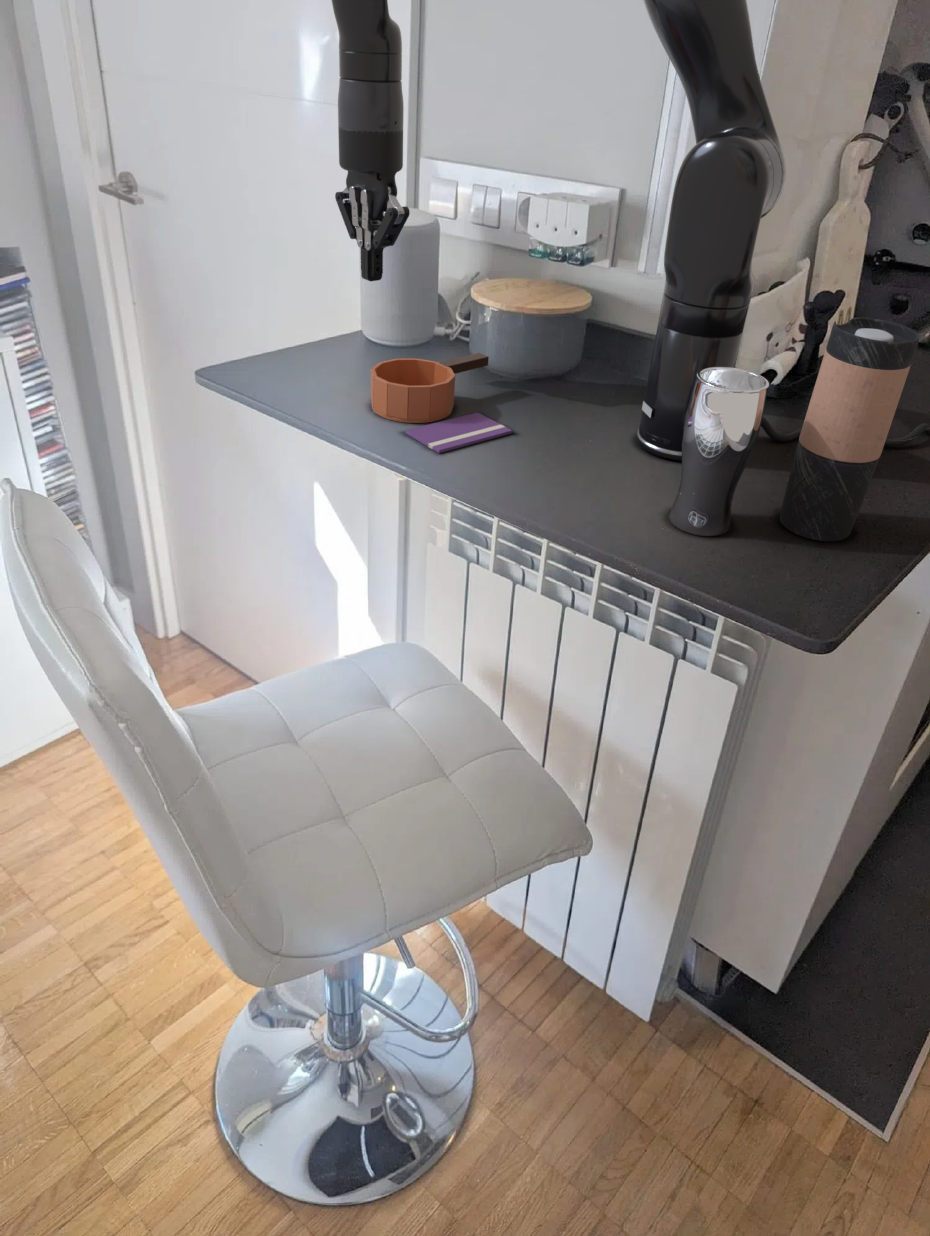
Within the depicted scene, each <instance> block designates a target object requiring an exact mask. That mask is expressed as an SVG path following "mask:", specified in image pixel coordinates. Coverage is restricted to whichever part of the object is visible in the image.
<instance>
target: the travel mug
mask: <svg viewBox="0 0 930 1236" xmlns="http://www.w3.org/2000/svg"><path fill="white" fill-rule="evenodd" d="M919 342H920V334H919V333H918V332H917V331H915V330H914V329H912V328H910V327H907V326H905V325H902V324H899V323H896V322H892V321H888V320H885V319H884V320H883V319H879V318H871V317H853V318H850V319H849V320H848V321H847V322H845V323H842V324H837V322H836V321H833V324H832V327H831V330H830V334H829V337H828V341H827V344H826V347H825V350H824V354H823V356H822V357H823V358H822V361H821V364H820V367H819V370H818V373H817V378H816V381H815V384H814V387H813V390H812V393H811V396H810V397H811V398H810V400H809V404H808V407H807V411H806V413H805V418H804V421H803V423H802V427H801V428H802V430H801V434H800V437H798V440H797V445H796V449H795V453H794V457H793V461H792V464H791V469H790V472H789V476H788V481H787V484H786V488H785V492H784V497H783V500H782V504H781V509H780V513H779V521H780V523H781V525H782V526H783V527H785V529H787V530H788V531H790V532H792V533H793V534H795V535H798V536H800V537H803V538H806V539H810V540H814V541H820V542H837V541H843V540H845V539H847V538H848V537H849V536H850V534H851V533H852V530H853V528H854V525H855V523H856V520H857V518H858V516H859V513H860V510H861V508H862V506H863V502H864V500H865V498H866V494H867V492H868V490H869V487H870V484H871V481H872V479H873V476H874V474H875V471H876V469H877V466H878V464H879V461H880V458H881V456H882V453H883V450H884V447H885V446H884V444H885V441H886V438H888V435H889V431H890V429H891V425H892V422H893V419H894V417H895V414H896V411H897V408H898V405H899V402H900V399H901V396H902V393H903V390H904V388H905V384H906V381H907V378H908V375H909V372H910V369H911V366H912V363H913V360H914V357H915V354H916V351H917V349H918V345H919Z"/></svg>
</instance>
